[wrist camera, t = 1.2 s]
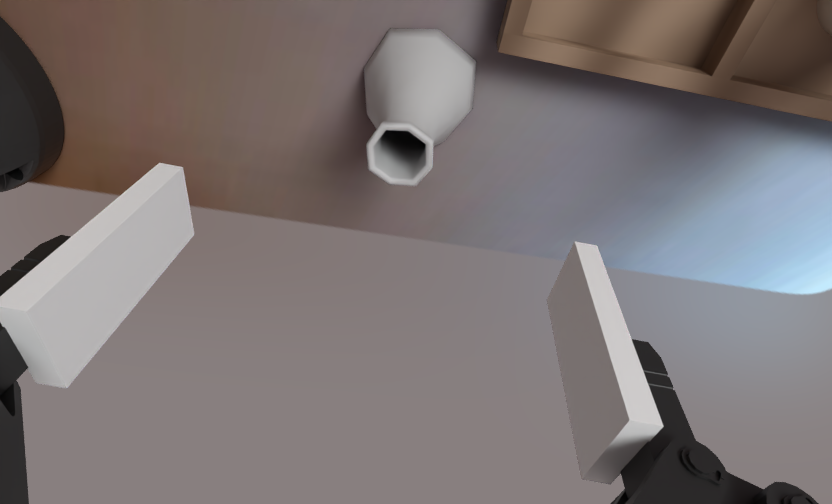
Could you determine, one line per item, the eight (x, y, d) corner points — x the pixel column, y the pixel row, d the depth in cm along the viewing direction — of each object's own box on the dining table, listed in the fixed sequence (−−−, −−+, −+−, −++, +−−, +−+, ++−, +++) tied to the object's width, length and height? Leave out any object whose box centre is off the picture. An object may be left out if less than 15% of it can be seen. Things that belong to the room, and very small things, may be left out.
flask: (452, 155, 31) (445, 240, 23) (351, 119, 31) (308, 195, 23) (496, 50, 27) (506, 111, 19) (380, 5, 26) (340, 49, 18)
